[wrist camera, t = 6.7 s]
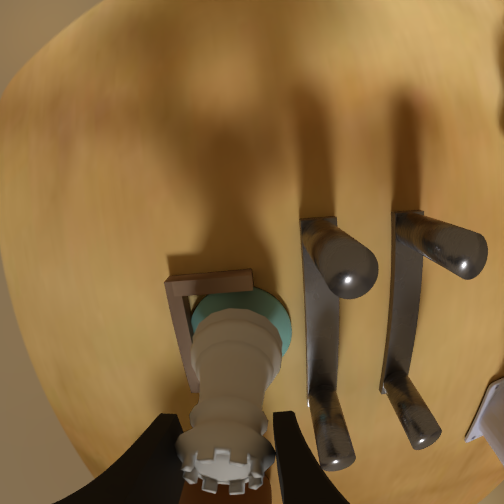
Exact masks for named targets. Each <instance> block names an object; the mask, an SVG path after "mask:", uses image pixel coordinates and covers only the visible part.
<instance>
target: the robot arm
mask: <svg viewBox="0 0 504 504" xmlns="http://www.w3.org/2000/svg"><path fill="white" fill-rule="evenodd" d="M273 430H274V440H275V449H276V459H277V469H278V476H279V482H280V489H281V495H282V501H283V504H350V503H349V502H348V501H347V500H346V499H345V498H344V497H343V495H342V494H341V493H340V492H339V491H338V490H337V488H336V487H335V486H334V485H333V483H332V482H331V481H330V479H329V478H328V477H327V475H326V474H325V472H324V471H323V470H322V468H321V467H320V465H319V464H318V462H317V460H316V459H315V457H314V455H313V454H312V452H311V450H310V448H309V447H308V445H307V443H306V441H305V439H304V437H303V435H302V433H301V430H300V428H299V425H298V423H297V420H296V416H295V413H294V412H293V411H284V412H273ZM182 433H184V432H183V430H182V427H181V425H180V422H179V419H178V417H177V414H163V413H161V414H160V415H159V416H158V417H157V418H156V419H155V420H154V421H153V422H152V423H151V425H150V426H149V427H148V428H147V429H146V430H145V431H144V433H143V434H142V435H141V436H140V437H139V438H138V439H137V440H136V441H135V443H134V444H133V445H132V446H131V447H130V448H129V449H128V450H127V451H126V452H125V453H124V454H123V455H122V456H121V457H120V458H119V459H118V460H117V461H116V462H114V463H113V464H112V465H111V466H110V467H109V468H108V469H107V470H106V471H104V472H103V473H102V474H101V475H99V476H98V477H97V478H96V479H94V480H93V481H92V482H90V483H89V484H87V485H86V486H84V487H83V488H81V489H79V490H78V491H76V492H75V493H73V494H71V495H69V496H67V497H66V498H64V499H62V500H60V501H57V502H56V503H53V504H179V501H180V497H181V494H182V490H183V486H184V482H185V479H184V478H183V473H184V471H183V470H181V467H182V461H181V460H180V459H179V457H178V456H177V453H176V449H175V443H176V441H177V439H178V437H179V436H180V435H181V434H182ZM482 435H483V436H484V437H485V439H486V440H487V442H488V443H489V445H490V446H491V448H492V449H493V451H494V452H495V454H496V455H497V457H498V458H499V460H500V461H501V463H502V464H503V466H504V378H501V379H499V380H497V381H495V382H493V383H491V384H490V385H489V387H488V389H487V392H486V394H485V397H484V399H483V401H482V404H481V406H480V408H479V411H478V413H477V415H476V417H475V419H474V421H473V423H472V426H471V428H470V430H469V432H468V434H467V436H466V437H465V442H466V443H467V442H470V441H472V440H474V439H476V438H478V437H480V436H482Z"/></svg>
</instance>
